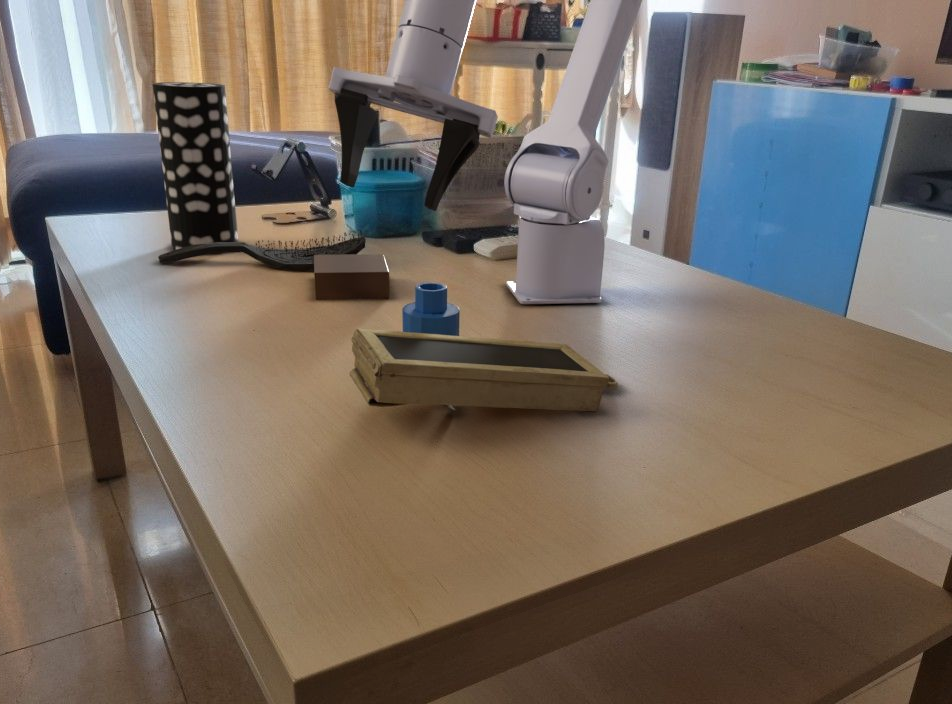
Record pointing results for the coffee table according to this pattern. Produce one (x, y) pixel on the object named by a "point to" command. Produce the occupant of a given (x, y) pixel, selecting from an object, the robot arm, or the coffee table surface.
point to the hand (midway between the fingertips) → (388, 196)
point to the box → (473, 372)
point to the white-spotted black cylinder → (196, 162)
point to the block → (351, 276)
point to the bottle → (431, 311)
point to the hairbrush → (272, 252)
